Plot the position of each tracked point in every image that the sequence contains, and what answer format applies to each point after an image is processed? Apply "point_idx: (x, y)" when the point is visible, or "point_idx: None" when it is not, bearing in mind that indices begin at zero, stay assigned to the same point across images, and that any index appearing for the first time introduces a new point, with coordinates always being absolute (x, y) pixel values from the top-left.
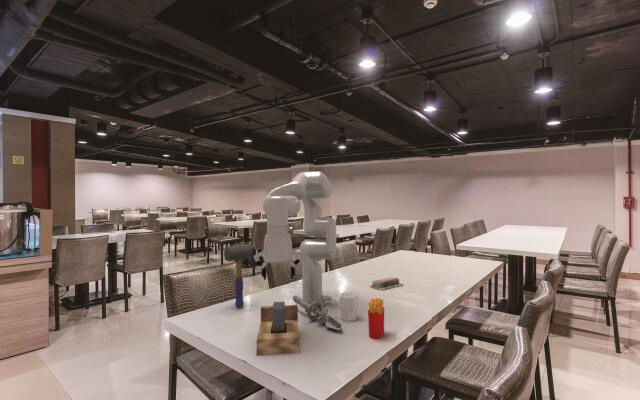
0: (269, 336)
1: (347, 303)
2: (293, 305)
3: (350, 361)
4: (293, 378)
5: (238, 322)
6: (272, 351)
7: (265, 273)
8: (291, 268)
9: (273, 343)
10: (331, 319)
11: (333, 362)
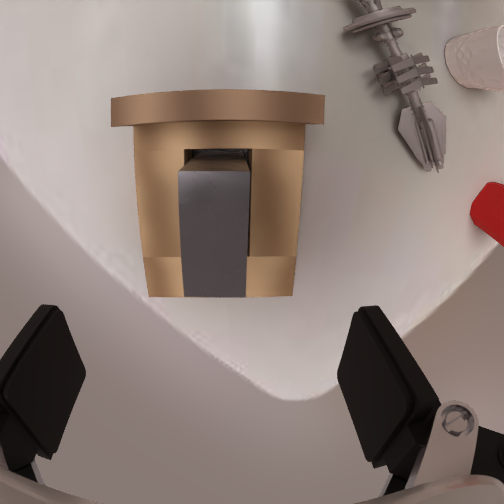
0: None
1: (499, 85)
2: (300, 102)
3: None
4: (258, 368)
5: (66, 21)
6: None
7: (67, 417)
8: (371, 460)
9: None
10: (426, 129)
11: None
